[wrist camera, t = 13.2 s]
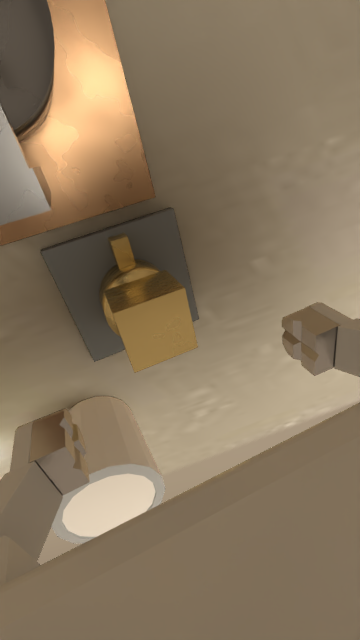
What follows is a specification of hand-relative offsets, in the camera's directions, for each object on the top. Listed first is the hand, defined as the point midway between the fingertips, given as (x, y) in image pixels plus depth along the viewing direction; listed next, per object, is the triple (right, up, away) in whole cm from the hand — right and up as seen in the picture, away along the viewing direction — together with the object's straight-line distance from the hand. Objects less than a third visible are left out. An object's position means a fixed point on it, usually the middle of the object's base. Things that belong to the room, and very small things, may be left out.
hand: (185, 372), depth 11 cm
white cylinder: (-7, -6, +14) cm, 16 cm away
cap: (-3, +4, +9) cm, 10 cm away
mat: (-3, +4, +9) cm, 11 cm away
